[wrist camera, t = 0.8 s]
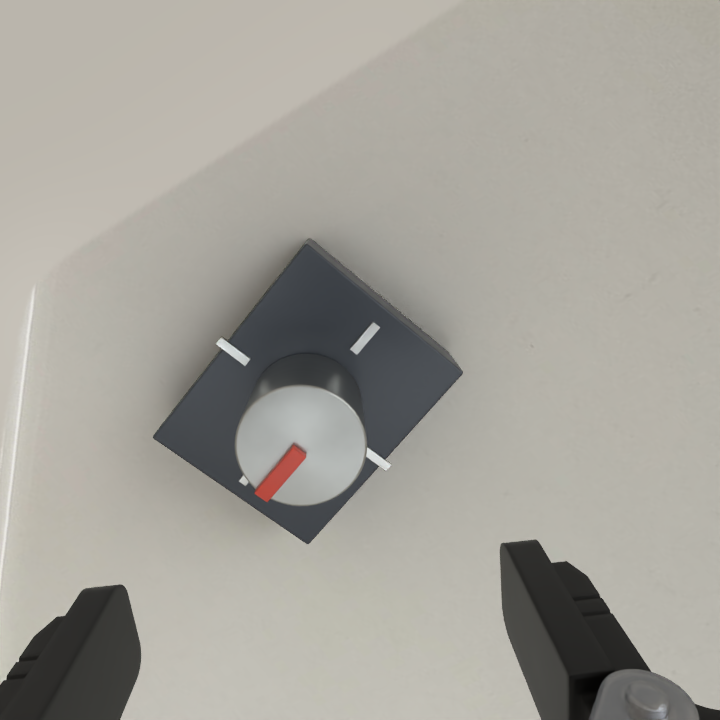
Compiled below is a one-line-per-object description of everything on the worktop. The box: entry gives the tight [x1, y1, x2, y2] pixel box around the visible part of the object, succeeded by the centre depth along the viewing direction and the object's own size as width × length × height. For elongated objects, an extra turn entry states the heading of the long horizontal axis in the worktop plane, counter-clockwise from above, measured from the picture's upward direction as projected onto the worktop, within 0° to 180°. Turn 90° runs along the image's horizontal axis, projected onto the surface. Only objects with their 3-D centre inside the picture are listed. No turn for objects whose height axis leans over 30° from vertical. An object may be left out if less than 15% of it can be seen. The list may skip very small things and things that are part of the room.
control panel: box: [153, 238, 463, 544], centre depth 24 cm, size 10×9×3 cm
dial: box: [235, 354, 367, 506], centre depth 21 cm, size 4×4×4 cm
